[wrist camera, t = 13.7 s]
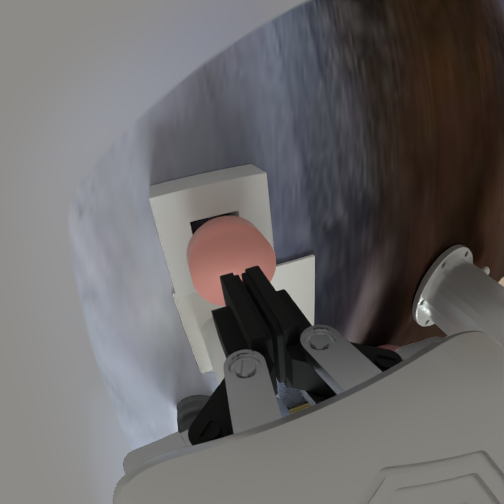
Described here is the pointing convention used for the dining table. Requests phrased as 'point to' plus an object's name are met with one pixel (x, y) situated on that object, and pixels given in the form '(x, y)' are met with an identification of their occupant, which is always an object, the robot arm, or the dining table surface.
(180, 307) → the paper
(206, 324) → the marker
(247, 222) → the button
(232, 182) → the button box
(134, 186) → the dining table surface
